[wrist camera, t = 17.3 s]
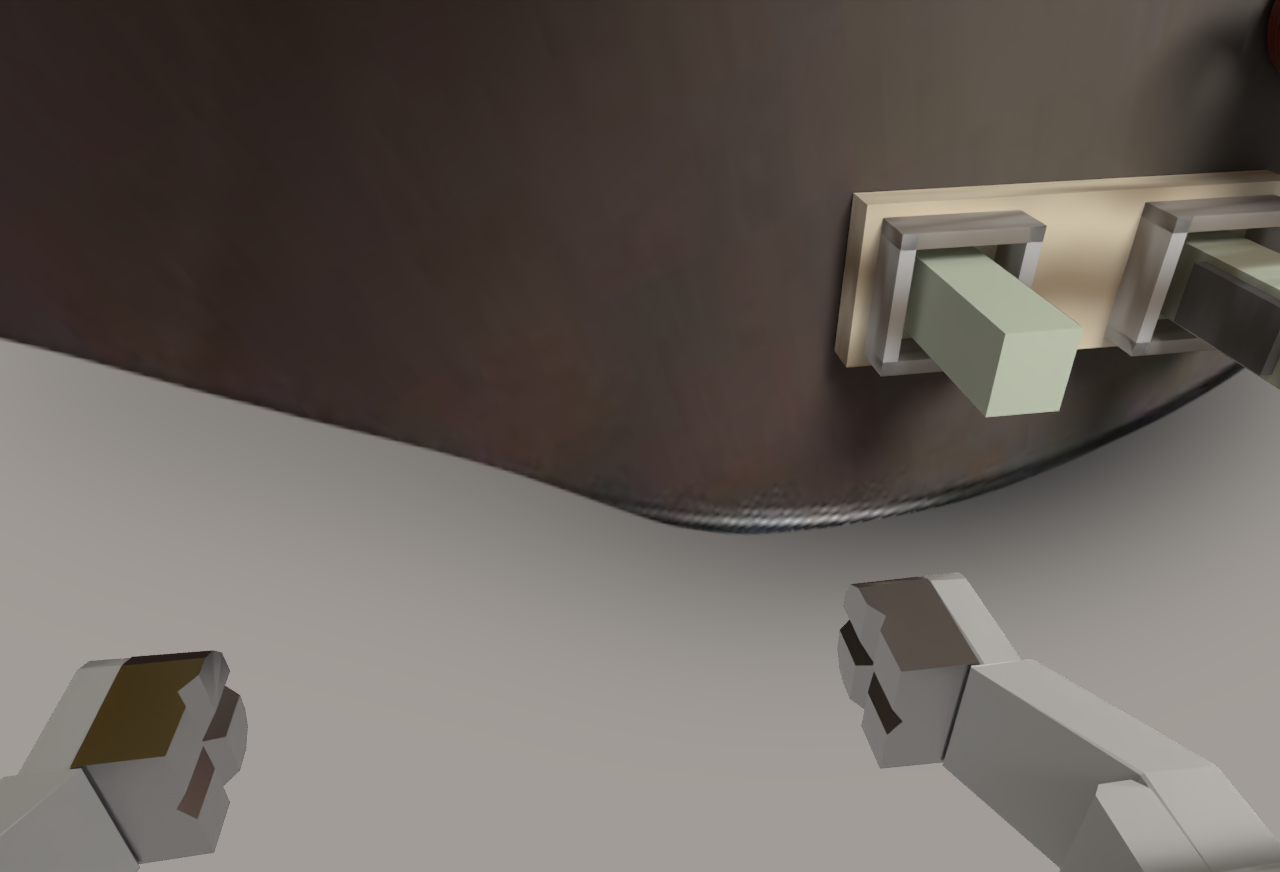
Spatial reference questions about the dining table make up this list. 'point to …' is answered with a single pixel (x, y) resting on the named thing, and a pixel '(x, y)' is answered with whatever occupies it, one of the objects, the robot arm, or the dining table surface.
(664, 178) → the dining table surface
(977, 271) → the block
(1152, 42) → the dining table surface
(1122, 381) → the dining table surface
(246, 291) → the dining table surface
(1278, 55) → the mug
